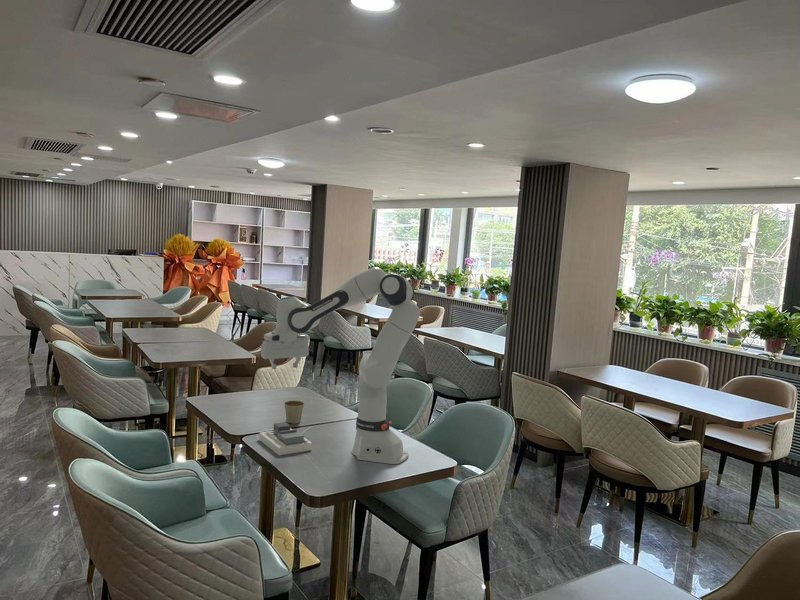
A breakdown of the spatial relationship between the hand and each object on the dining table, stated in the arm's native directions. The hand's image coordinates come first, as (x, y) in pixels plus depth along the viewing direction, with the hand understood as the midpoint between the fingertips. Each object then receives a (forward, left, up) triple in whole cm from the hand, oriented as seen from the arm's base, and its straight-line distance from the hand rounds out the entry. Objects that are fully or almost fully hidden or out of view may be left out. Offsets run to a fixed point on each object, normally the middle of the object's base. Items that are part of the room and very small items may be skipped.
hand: (284, 368), depth 243 cm
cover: (-11, +11, -26) cm, 30 cm away
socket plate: (-7, +8, -29) cm, 31 cm away
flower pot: (+7, -20, -29) cm, 36 cm away
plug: (-4, +6, -29) cm, 30 cm away
